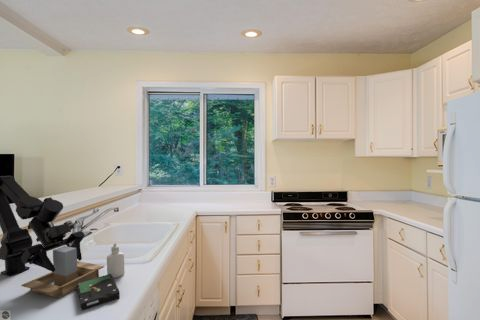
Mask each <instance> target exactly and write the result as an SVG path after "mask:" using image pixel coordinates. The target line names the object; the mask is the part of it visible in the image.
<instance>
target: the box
mask: <svg viewBox="0 0 480 320" xmlns="http://www.w3.org/2000/svg"><path fill="white" fill-rule="evenodd" d="M52 258H53V260H52V261H53V262H52V264H53V266H54V267H55V271H54V281H53V282H54V283H53V285H56V286H62V285H64V284H66V283H68V282H70V281H72V280H74V279H76V278H78V276H79V275H78V274H77V261H78V259H77V249H76V248H73V247H67V245H64V246H61V247H58V248H55V249H52Z"/></svg>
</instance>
